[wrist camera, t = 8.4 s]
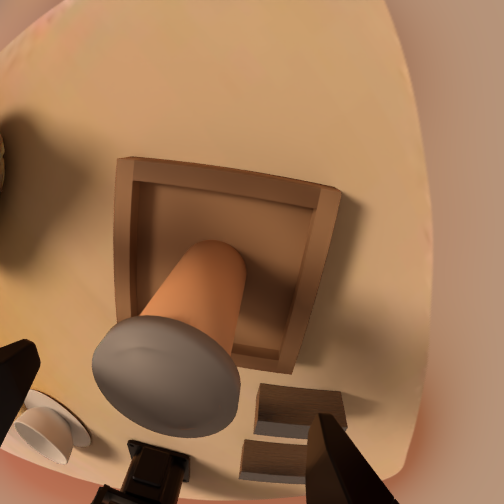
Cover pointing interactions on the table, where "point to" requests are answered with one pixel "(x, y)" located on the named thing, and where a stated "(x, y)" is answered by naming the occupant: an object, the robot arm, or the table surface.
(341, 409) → the hitch bracket
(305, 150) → the table surface
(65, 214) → the table surface
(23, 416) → the teacup
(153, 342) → the pin
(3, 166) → the seashell
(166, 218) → the tray
